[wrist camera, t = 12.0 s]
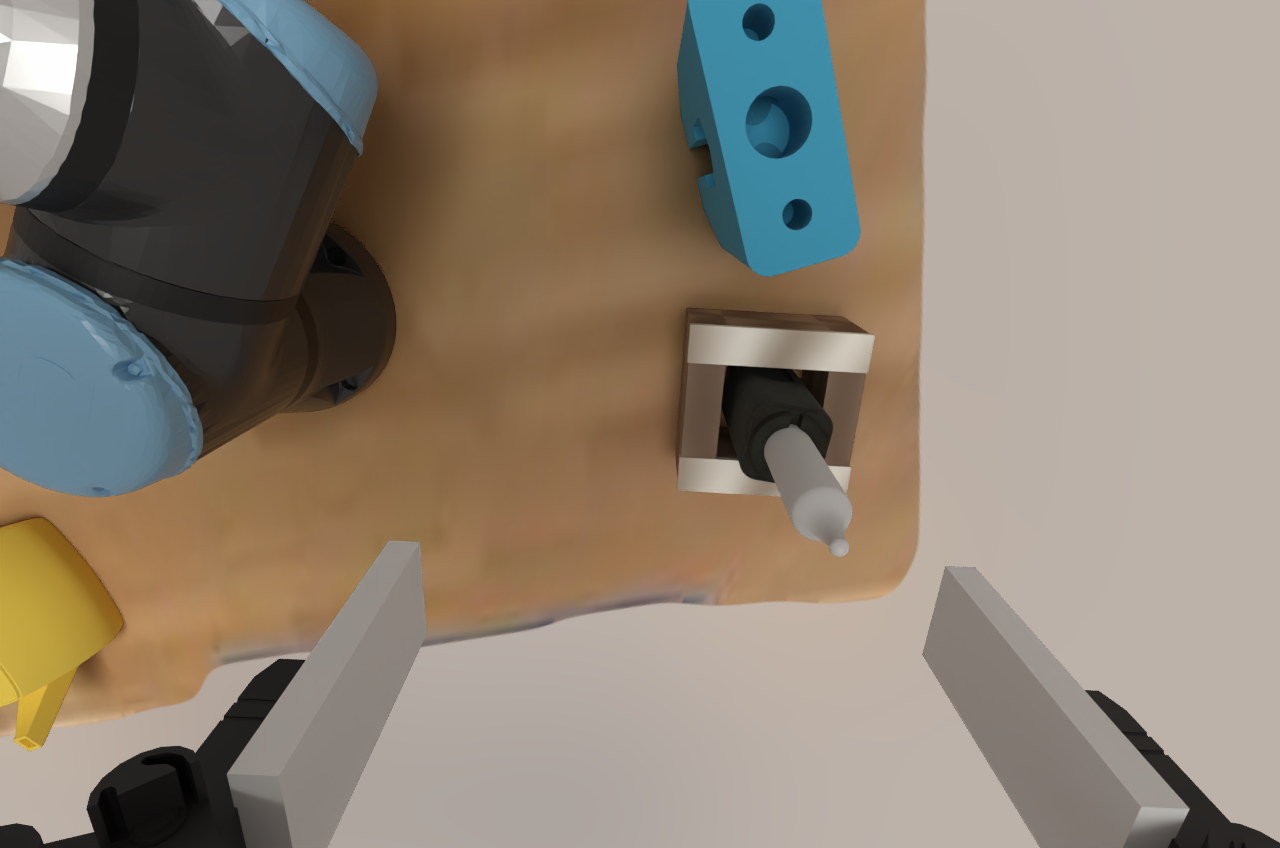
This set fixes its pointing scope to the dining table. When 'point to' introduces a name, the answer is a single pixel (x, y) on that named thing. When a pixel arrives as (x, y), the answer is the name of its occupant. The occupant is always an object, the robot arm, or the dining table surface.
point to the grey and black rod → (787, 448)
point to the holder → (774, 341)
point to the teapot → (46, 623)
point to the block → (768, 131)
